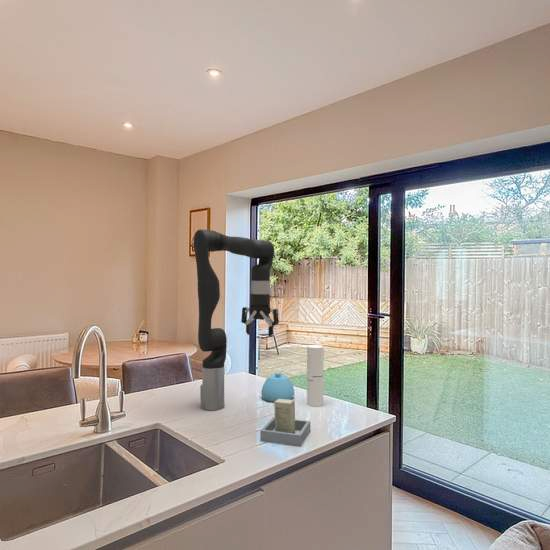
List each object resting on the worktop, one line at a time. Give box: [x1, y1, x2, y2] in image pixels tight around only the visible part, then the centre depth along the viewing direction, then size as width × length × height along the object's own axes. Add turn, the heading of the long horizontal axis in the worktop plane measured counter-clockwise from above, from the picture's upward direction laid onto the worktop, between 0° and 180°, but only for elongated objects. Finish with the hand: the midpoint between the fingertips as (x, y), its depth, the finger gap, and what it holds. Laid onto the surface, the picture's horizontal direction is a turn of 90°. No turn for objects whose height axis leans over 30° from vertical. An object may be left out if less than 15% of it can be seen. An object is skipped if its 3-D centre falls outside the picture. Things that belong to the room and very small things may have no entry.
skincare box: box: [273, 399, 296, 434], centre depth 143 cm, size 6×4×12 cm
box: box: [259, 416, 311, 447], centre depth 143 cm, size 14×14×4 cm
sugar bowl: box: [261, 371, 295, 403], centre depth 187 cm, size 15×15×12 cm
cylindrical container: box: [306, 344, 325, 407], centre depth 179 cm, size 7×7×25 cm
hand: (259, 335), depth 156 cm, fingers open, 8 cm apart
